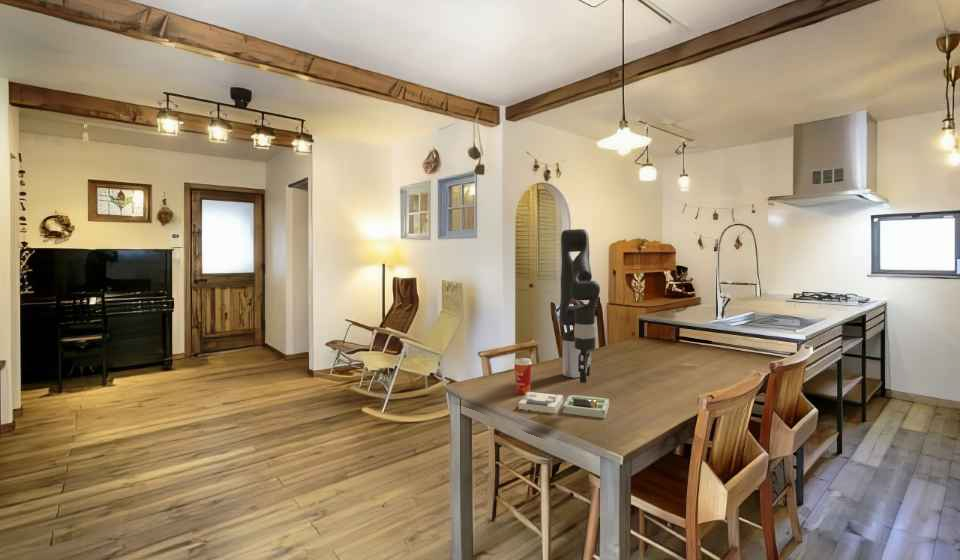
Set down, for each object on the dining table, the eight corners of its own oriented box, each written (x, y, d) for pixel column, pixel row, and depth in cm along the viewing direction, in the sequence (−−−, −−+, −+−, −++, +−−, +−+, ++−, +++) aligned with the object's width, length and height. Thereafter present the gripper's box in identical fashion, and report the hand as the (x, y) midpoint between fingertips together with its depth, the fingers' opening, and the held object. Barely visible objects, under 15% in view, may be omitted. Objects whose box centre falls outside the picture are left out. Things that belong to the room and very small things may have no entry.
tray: (569, 401, 179) (569, 394, 179) (609, 405, 173) (609, 398, 173) (562, 413, 166) (562, 406, 166) (604, 418, 161) (604, 410, 161)
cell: (574, 407, 169) (574, 398, 170) (598, 409, 166) (598, 400, 167) (573, 407, 166) (573, 398, 167) (597, 409, 163) (597, 400, 164)
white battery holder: (528, 397, 184) (528, 387, 184) (563, 401, 179) (562, 390, 179) (518, 409, 171) (518, 398, 171) (555, 413, 166) (555, 402, 166)
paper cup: (511, 391, 194) (510, 358, 193) (527, 388, 196) (526, 356, 195) (519, 396, 186) (518, 362, 185) (535, 394, 189) (535, 360, 188)
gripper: (577, 331, 173) (577, 373, 174) (570, 338, 160) (571, 383, 161) (597, 332, 170) (598, 374, 171) (592, 340, 157) (592, 386, 158)
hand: (585, 379), depth 166 cm, fingers open, 8 cm apart
